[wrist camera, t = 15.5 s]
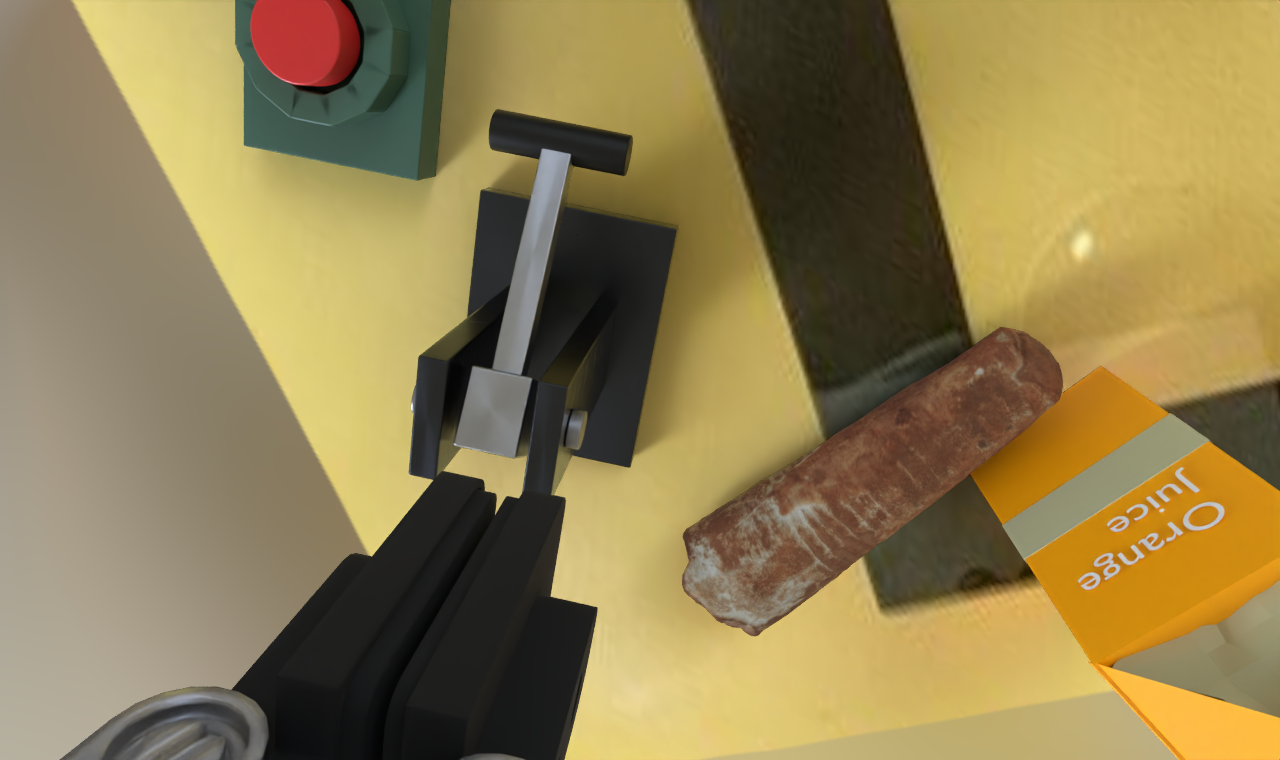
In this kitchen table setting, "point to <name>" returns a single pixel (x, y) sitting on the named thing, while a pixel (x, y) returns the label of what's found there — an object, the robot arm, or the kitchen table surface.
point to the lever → (530, 274)
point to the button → (306, 40)
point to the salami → (865, 482)
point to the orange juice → (1153, 562)
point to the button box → (358, 93)
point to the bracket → (555, 338)
